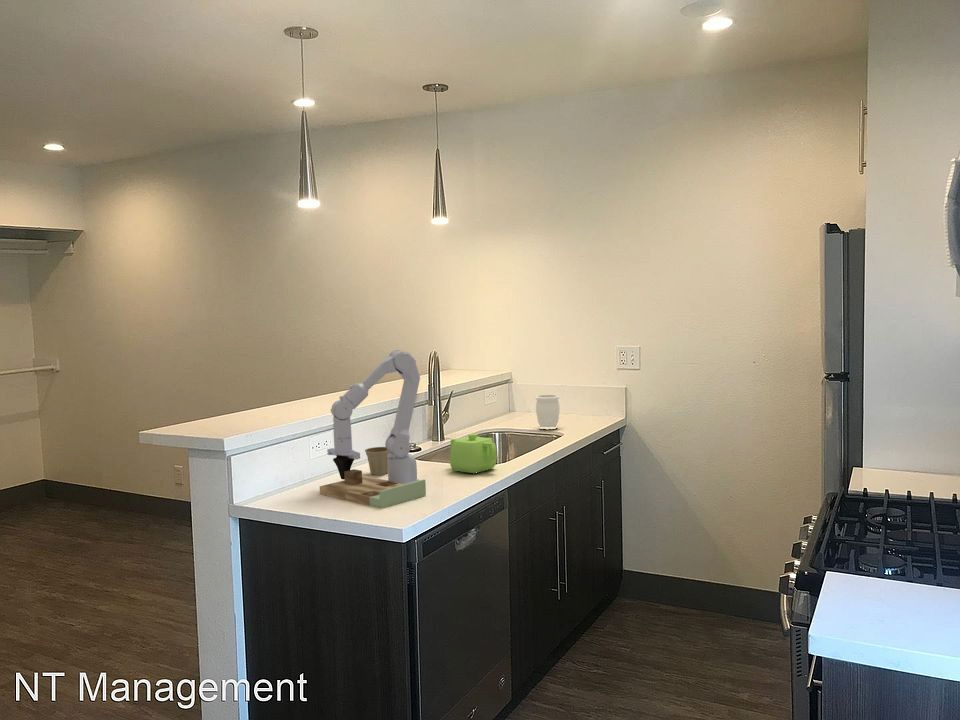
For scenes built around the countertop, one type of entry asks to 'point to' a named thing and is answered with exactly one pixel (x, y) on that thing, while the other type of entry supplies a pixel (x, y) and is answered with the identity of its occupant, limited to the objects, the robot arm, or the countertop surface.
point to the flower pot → (377, 460)
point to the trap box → (375, 491)
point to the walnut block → (353, 477)
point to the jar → (547, 410)
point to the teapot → (472, 454)
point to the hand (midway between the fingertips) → (344, 478)
